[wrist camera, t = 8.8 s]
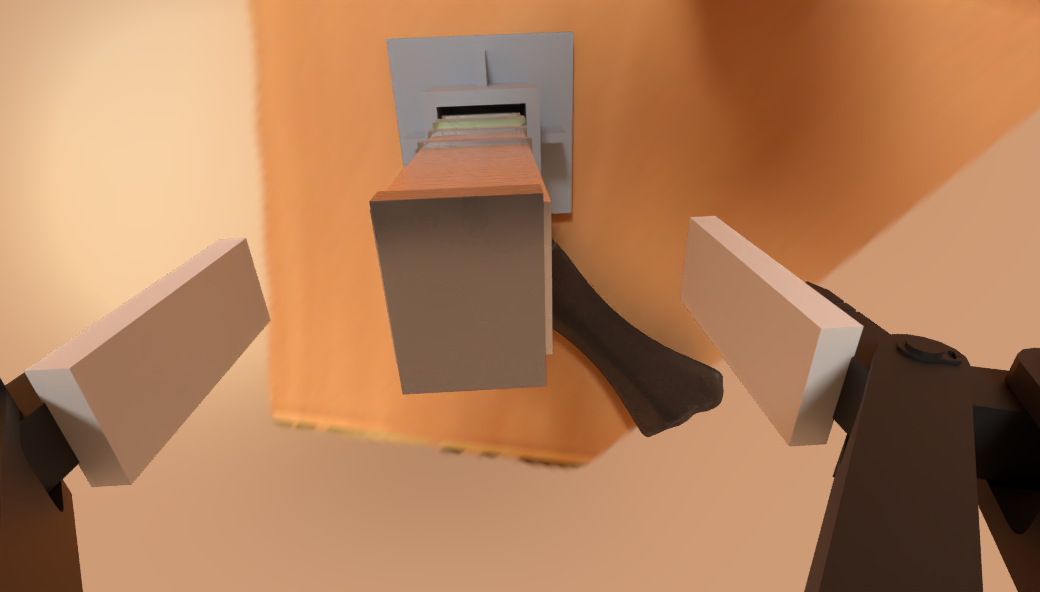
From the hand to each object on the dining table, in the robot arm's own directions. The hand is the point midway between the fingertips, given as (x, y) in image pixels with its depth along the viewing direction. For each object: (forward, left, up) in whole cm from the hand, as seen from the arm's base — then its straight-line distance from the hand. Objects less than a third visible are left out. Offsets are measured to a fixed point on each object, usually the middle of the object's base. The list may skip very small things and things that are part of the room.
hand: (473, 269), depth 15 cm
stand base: (0, 0, -35) cm, 35 cm away
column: (0, 0, -26) cm, 26 cm away
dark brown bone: (+23, +12, -36) cm, 44 cm away
